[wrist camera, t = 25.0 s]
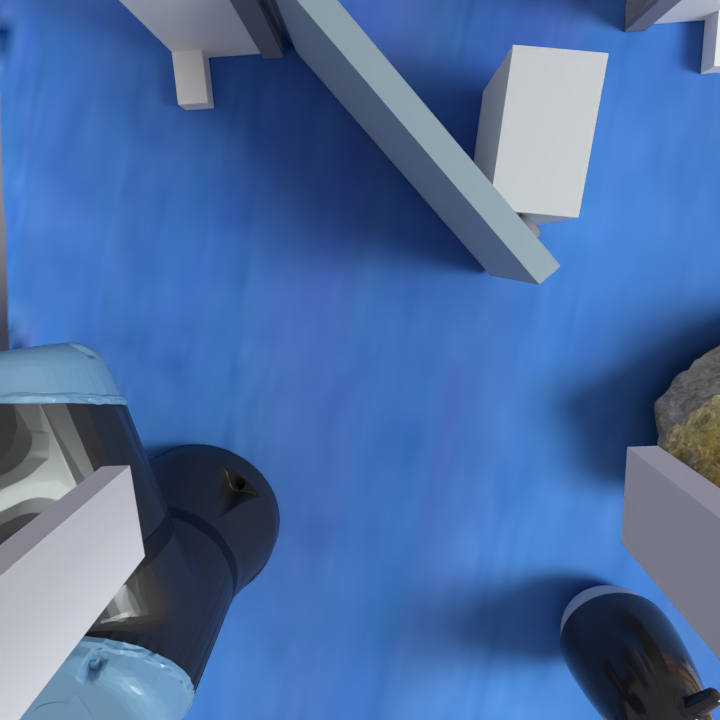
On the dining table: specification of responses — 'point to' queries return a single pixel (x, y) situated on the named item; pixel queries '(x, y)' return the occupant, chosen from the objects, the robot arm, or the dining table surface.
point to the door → (414, 139)
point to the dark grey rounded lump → (631, 658)
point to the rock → (693, 417)
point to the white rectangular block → (540, 129)
